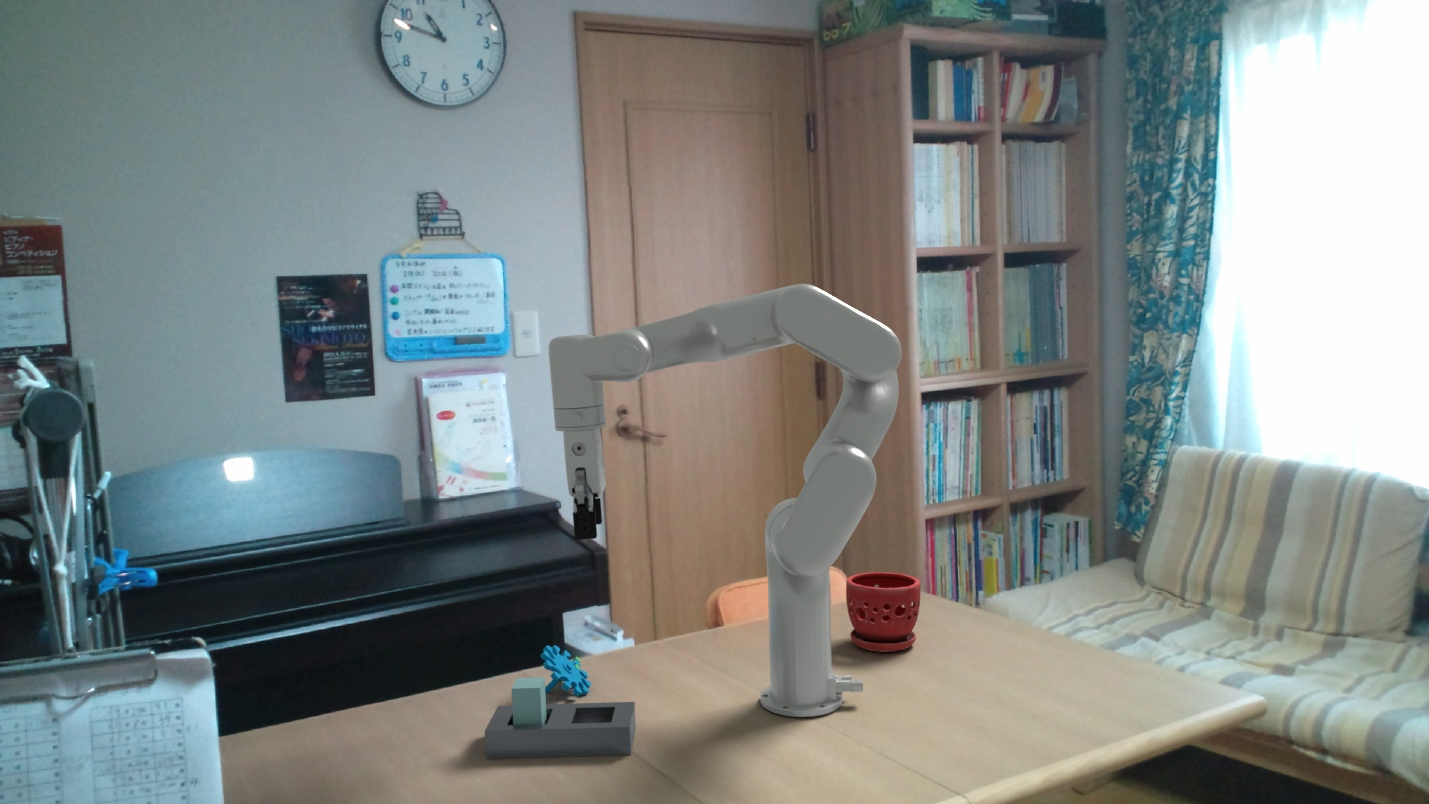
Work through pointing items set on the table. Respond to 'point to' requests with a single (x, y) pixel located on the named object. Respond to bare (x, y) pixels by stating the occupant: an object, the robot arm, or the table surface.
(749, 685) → the table surface
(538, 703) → the peg
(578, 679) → the gear
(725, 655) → the table surface
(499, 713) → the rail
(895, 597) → the plant pot
